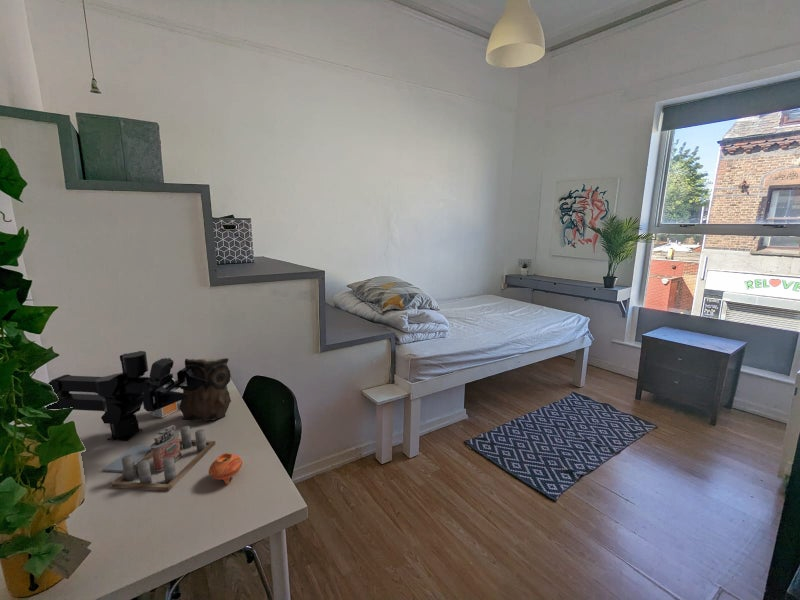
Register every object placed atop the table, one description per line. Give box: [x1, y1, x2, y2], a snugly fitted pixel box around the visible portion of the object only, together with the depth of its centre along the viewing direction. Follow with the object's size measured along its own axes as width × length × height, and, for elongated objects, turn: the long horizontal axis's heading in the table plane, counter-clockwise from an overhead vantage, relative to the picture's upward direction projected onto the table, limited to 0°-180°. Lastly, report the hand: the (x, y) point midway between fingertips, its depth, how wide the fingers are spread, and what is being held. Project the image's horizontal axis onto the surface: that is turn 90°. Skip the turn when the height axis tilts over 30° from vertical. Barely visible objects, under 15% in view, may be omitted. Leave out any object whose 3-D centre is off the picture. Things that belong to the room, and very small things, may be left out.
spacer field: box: [110, 425, 216, 492], centre depth 100 cm, size 15×20×6 cm
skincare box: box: [153, 378, 178, 419], centre depth 126 cm, size 6×4×12 cm
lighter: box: [150, 424, 182, 474], centre depth 100 cm, size 8×3×10 cm, turn 168°
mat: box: [102, 444, 152, 473], centre depth 102 cm, size 6×11×1 cm, turn 175°
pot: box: [208, 452, 243, 486], centre depth 95 cm, size 8×8×7 cm
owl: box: [179, 357, 232, 422], centre depth 123 cm, size 13×13×20 cm
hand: (197, 388), depth 109 cm, fingers open, 9 cm apart
